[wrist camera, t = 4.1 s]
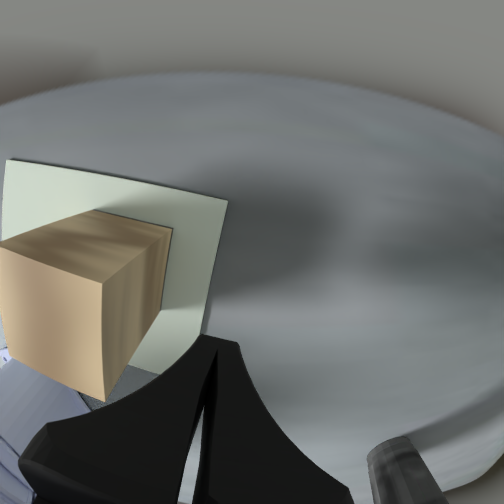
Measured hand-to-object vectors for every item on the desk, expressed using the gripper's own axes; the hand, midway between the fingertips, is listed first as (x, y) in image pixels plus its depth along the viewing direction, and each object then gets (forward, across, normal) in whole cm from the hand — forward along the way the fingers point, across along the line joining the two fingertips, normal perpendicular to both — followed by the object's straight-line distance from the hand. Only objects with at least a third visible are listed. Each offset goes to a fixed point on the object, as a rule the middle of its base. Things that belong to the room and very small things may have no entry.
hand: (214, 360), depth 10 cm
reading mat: (+7, +9, +2) cm, 12 cm away
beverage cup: (+7, -18, +14) cm, 24 cm away
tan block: (+7, +6, 0) cm, 9 cm away
